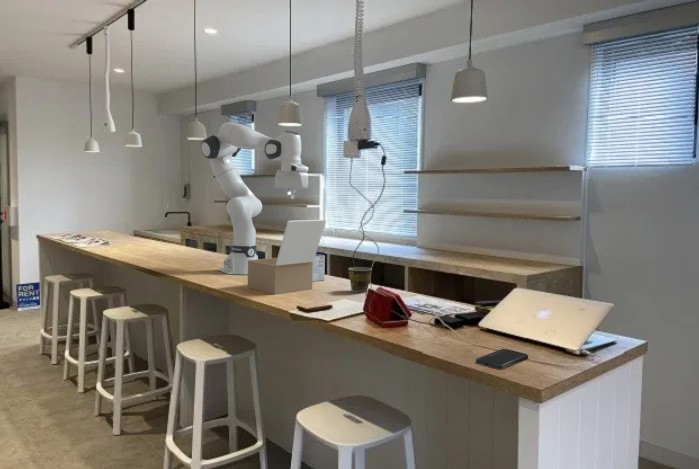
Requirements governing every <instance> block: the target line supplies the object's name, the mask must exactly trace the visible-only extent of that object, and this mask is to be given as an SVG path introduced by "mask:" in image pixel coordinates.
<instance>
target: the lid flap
mask: <svg viewBox="0 0 699 469" xmlns="http://www.w3.org/2000/svg"><path fill="white" fill-rule="evenodd" d="M326 222H327V219H305V220H303V219H302V220H300V219H299V220H288V221H287V222H286V226H285V230H284V233H283V237H282V239H281V244H280V247H279V251H278V255H277V257H276V258H277V261H276V265H286V264H296V263H306V262H313V261H314V258H315V255H316V254H317V251H318V248H319V245H320V241H321V239H322V235H323V232H324V228H325V225H326Z"/></svg>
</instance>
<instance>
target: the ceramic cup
mask: <svg viewBox="0 0 699 469" xmlns="http://www.w3.org/2000/svg"><path fill="white" fill-rule="evenodd" d="M347 270H348V278H349V282H350V289H351V292H352V293H353V294H354V293H355V294H366V293H368V290H367V289H369V284H370V280H371V275H372V268H370V267H361V266H355V267H348V269H347Z"/></svg>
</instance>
